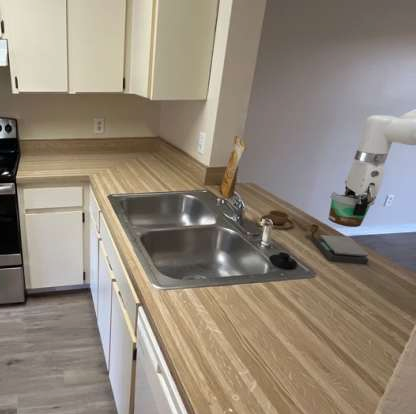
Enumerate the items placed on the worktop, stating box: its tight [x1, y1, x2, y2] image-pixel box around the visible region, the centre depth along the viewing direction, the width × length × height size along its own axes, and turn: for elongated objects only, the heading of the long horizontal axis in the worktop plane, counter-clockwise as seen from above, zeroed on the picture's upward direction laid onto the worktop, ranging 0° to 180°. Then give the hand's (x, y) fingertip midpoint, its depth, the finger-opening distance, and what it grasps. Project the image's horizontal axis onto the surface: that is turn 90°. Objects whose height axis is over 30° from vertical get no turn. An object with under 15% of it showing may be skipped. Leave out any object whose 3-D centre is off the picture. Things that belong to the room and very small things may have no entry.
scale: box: [312, 237, 369, 266], centre depth 114 cm, size 11×13×3 cm
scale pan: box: [319, 234, 369, 258], centre depth 113 cm, size 10×12×1 cm
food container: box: [327, 191, 376, 228], centre depth 108 cm, size 12×6×10 cm, turn 76°
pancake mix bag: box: [220, 135, 247, 199], centre depth 163 cm, size 7×19×28 cm, turn 165°
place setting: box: [254, 210, 320, 240], centre depth 131 cm, size 18×20×6 cm
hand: (352, 210), depth 108 cm, fingers closed on food container, 6 cm apart
